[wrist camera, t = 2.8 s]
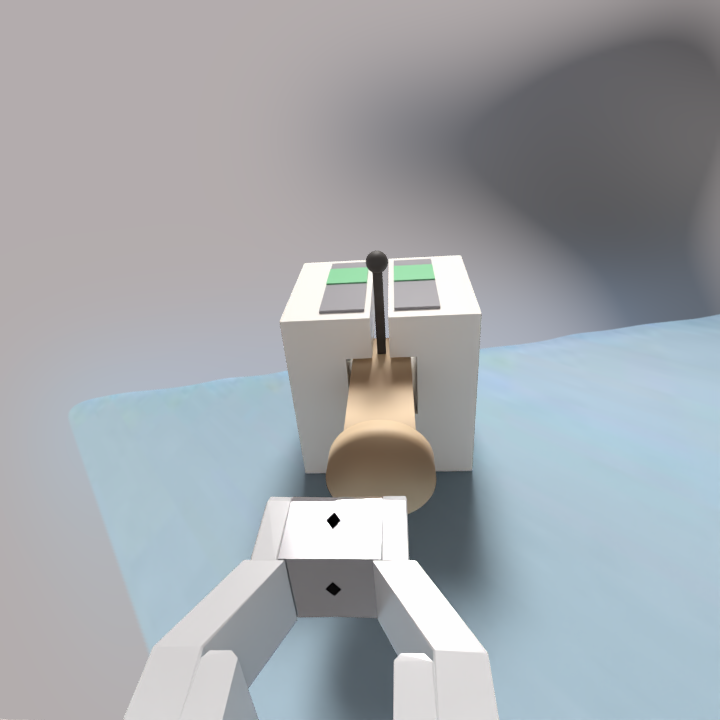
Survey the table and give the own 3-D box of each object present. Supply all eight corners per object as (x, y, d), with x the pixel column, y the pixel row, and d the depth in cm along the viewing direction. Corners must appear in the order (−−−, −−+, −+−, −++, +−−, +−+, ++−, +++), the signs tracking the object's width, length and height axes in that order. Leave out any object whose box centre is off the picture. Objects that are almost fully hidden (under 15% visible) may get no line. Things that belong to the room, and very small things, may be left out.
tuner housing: (472, 470, 38) (481, 309, 31) (305, 473, 39) (278, 317, 32) (456, 390, 48) (460, 251, 41) (322, 393, 49) (304, 259, 42)
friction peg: (435, 518, 28) (437, 325, 22) (331, 519, 29) (304, 331, 22) (423, 392, 39) (422, 239, 33) (347, 394, 39) (332, 243, 33)
